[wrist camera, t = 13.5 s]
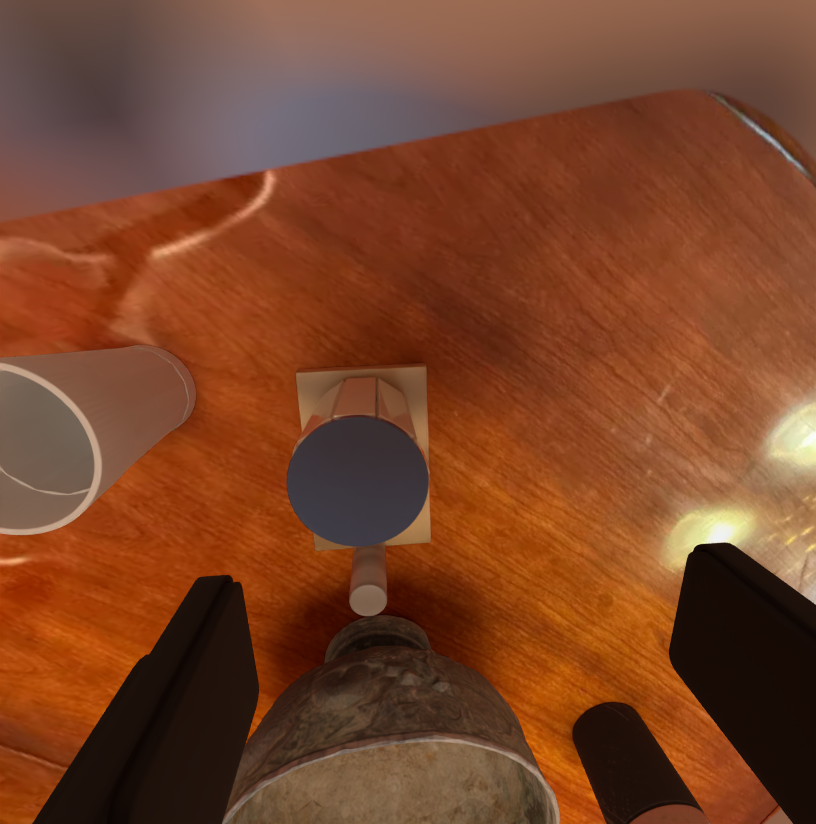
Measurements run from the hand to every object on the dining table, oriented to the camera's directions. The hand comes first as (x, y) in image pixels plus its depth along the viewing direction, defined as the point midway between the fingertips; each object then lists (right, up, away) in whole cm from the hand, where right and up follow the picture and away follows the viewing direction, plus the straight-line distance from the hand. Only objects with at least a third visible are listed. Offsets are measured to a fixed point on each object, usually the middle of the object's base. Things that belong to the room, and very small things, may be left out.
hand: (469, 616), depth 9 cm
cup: (-19, +6, +21) cm, 29 cm away
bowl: (-4, -17, +29) cm, 34 cm away
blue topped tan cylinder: (-4, +3, +19) cm, 20 cm away
